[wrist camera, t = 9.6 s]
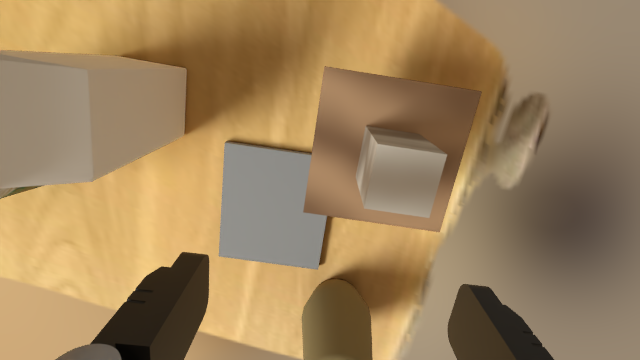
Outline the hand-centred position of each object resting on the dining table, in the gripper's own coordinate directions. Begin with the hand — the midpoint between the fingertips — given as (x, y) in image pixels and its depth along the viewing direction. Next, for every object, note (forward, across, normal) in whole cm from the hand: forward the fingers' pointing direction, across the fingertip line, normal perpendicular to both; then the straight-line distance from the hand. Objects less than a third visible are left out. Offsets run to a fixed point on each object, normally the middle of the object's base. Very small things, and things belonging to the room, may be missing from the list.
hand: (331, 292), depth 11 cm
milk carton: (+27, +18, -1) cm, 33 cm away
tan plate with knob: (+19, -4, -1) cm, 20 cm away
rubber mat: (+26, +5, +10) cm, 29 cm away
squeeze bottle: (+26, -4, +21) cm, 34 cm away
